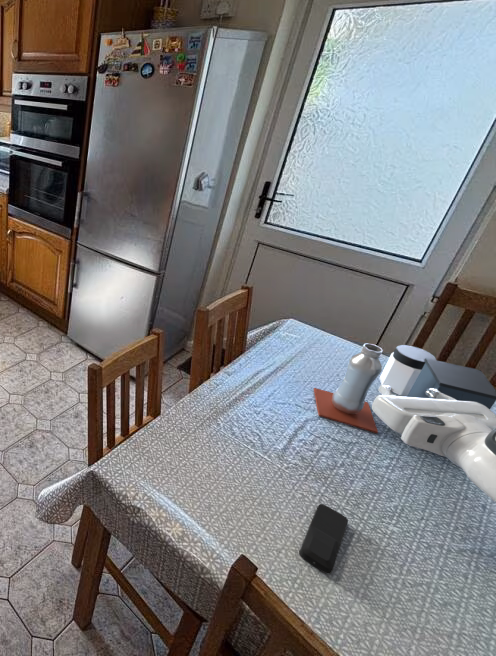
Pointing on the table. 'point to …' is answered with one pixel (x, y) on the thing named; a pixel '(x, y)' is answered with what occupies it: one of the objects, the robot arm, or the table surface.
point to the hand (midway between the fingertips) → (406, 389)
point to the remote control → (324, 538)
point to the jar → (404, 368)
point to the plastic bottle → (358, 379)
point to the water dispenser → (454, 383)
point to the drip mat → (331, 412)
